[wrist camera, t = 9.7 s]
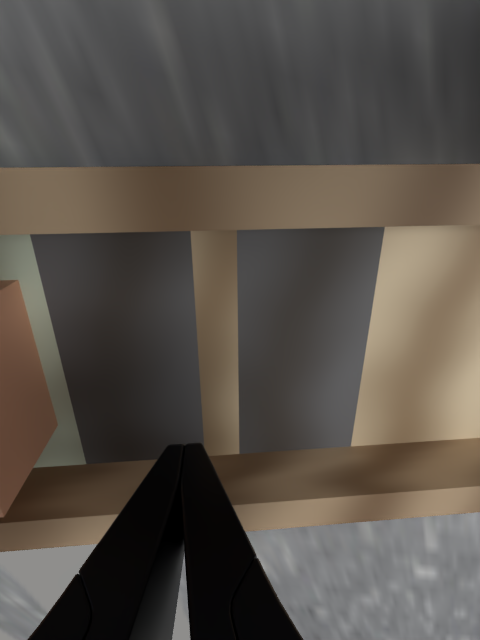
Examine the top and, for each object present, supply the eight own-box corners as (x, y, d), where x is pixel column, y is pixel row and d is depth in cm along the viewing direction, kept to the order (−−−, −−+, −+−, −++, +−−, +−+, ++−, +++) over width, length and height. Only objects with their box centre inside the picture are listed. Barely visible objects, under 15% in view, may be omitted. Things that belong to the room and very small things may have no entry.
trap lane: (557, 163, 12) (704, 162, 9) (465, 446, 18) (532, 519, 14) (-284, 170, 10) (-549, 172, 7) (-107, 485, 16) (-203, 582, 12)
